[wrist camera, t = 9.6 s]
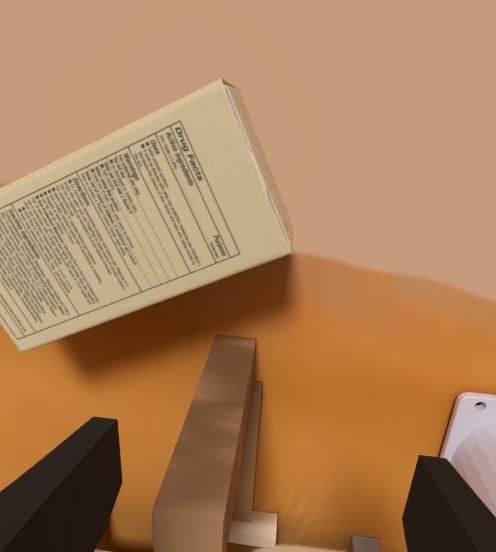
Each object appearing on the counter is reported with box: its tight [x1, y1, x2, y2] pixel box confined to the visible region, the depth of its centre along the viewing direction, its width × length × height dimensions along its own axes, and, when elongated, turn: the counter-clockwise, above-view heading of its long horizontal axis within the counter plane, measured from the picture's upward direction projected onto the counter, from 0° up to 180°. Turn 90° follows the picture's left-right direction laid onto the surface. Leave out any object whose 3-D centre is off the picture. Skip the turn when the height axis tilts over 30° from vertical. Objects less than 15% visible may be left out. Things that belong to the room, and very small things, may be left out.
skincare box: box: [0, 78, 293, 352], centre depth 17 cm, size 6×4×12 cm
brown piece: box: [152, 335, 277, 552], centre depth 18 cm, size 6×12×10 cm, turn 176°
